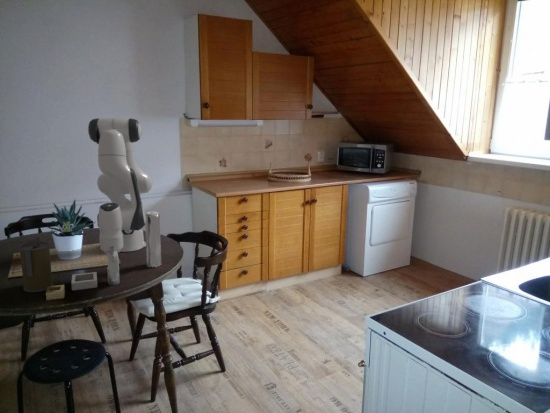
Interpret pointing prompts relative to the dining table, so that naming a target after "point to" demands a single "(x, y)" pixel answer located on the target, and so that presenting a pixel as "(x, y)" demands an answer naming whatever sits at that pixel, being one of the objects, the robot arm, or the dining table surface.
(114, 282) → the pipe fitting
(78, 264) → the dining table surface
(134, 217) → the robot arm
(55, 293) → the narrow socket
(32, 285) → the canister
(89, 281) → the wide socket
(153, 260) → the light grey piece
